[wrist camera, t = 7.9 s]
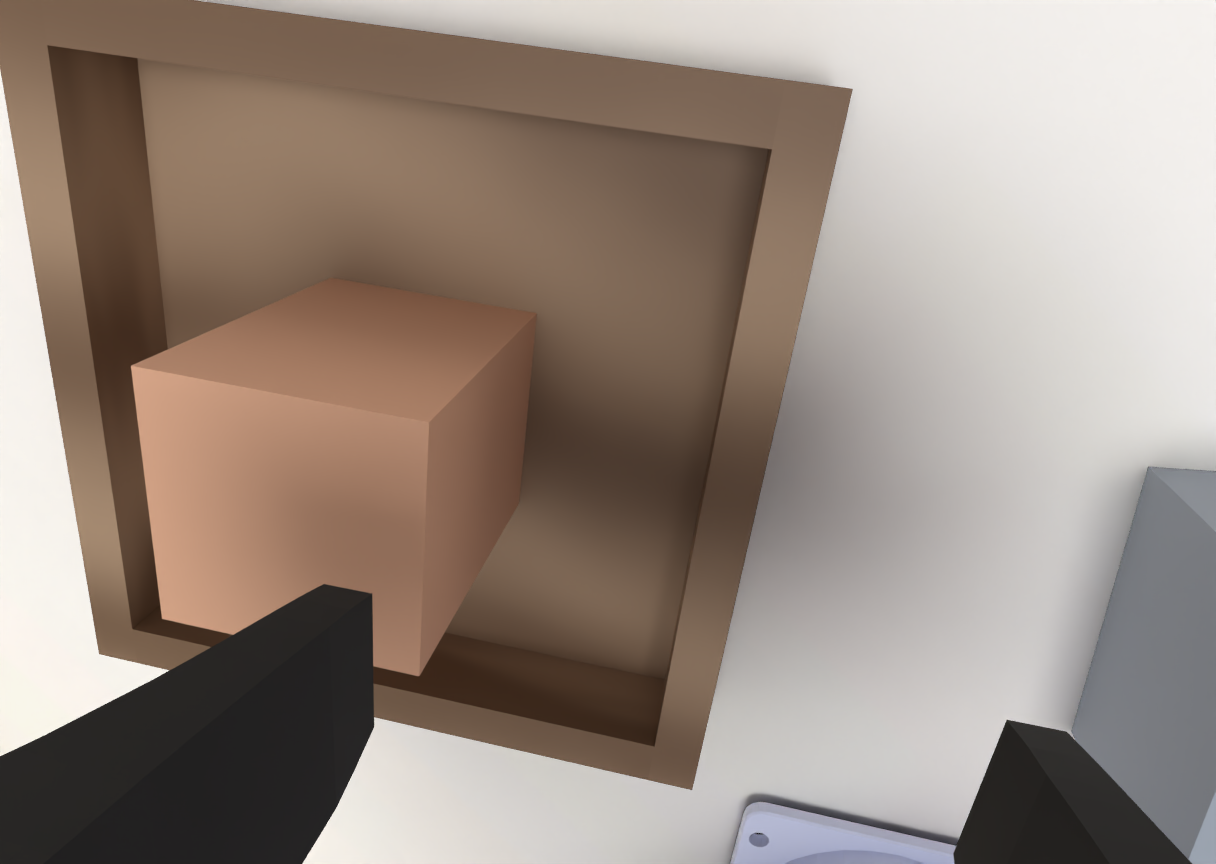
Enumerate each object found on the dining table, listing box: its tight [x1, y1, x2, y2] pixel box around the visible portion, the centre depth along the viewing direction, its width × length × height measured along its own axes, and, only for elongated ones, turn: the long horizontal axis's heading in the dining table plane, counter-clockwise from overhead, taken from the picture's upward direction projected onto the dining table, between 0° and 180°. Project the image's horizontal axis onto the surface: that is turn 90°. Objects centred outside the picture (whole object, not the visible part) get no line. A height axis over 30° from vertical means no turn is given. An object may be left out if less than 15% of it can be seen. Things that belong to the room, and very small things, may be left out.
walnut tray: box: [0, 0, 853, 790], centre depth 17 cm, size 14×14×3 cm
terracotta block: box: [131, 278, 537, 676], centre depth 15 cm, size 4×4×6 cm
